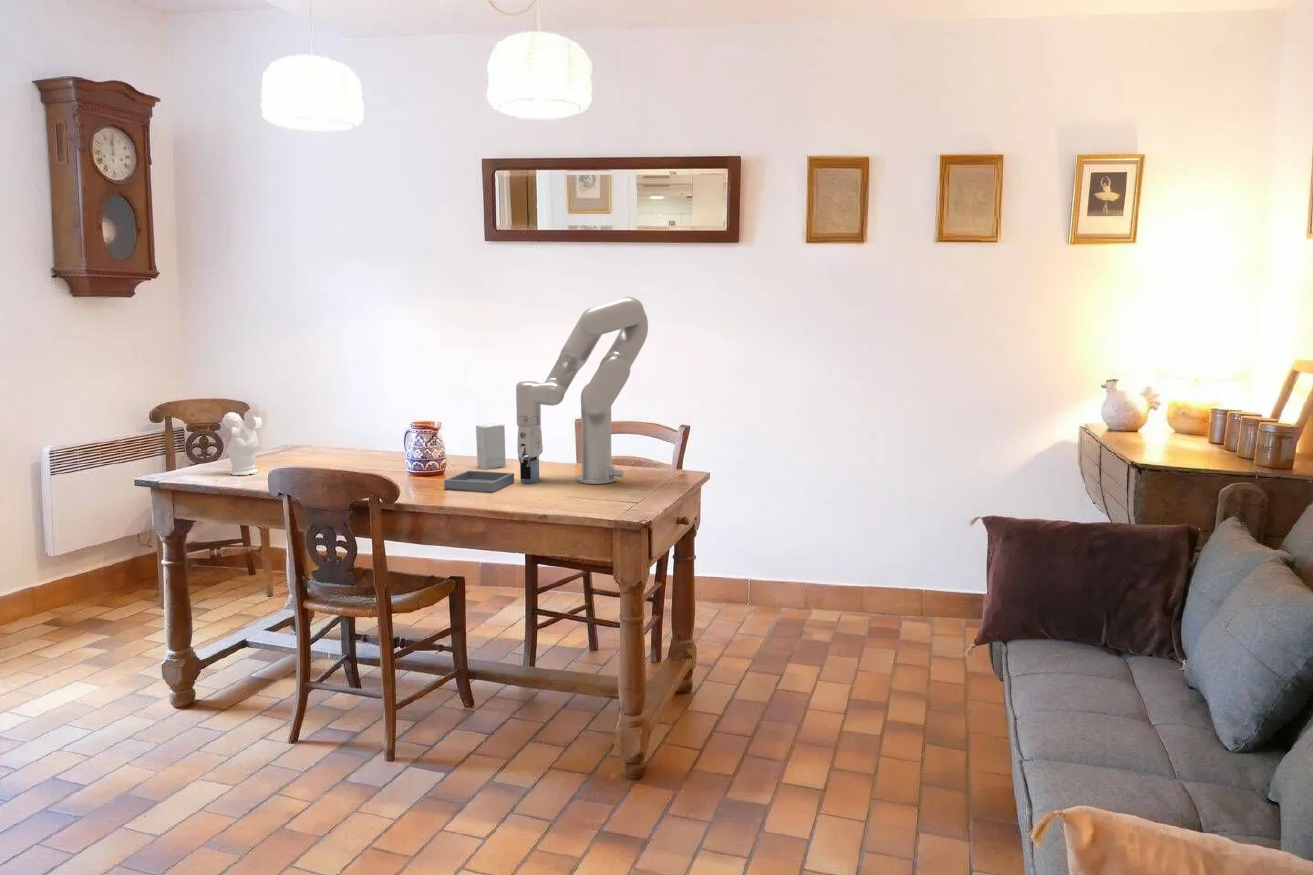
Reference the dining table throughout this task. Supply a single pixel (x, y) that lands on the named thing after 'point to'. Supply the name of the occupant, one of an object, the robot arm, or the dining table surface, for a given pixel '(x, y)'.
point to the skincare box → (490, 445)
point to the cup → (532, 471)
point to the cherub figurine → (242, 442)
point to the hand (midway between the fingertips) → (529, 476)
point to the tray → (479, 481)
